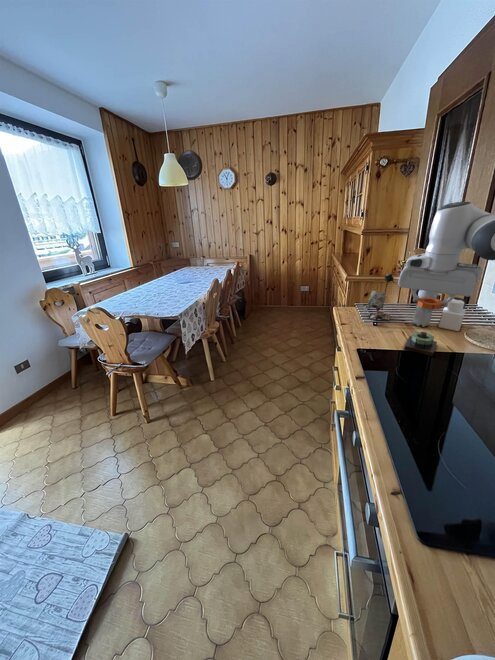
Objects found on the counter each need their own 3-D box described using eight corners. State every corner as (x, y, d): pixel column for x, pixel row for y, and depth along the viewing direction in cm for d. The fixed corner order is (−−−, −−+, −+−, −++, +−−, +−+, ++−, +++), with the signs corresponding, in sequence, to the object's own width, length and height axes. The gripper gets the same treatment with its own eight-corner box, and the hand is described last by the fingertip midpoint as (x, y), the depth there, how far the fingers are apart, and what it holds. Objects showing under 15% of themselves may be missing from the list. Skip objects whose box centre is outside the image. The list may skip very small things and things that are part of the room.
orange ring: (443, 303, 92) (444, 299, 91) (440, 311, 87) (441, 306, 86) (419, 300, 96) (420, 295, 95) (415, 307, 91) (416, 302, 90)
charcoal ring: (433, 342, 104) (434, 338, 103) (430, 350, 99) (431, 346, 98) (412, 337, 107) (413, 333, 107) (408, 345, 103) (409, 341, 102)
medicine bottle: (440, 321, 121) (448, 294, 116) (461, 324, 117) (469, 297, 111) (437, 327, 116) (445, 300, 111) (458, 331, 112) (467, 303, 107)
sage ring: (434, 338, 103) (435, 334, 102) (431, 346, 98) (432, 342, 97) (413, 333, 107) (414, 330, 106) (409, 341, 102) (410, 337, 101)
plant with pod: (366, 311, 134) (372, 270, 125) (392, 316, 128) (400, 273, 119) (362, 318, 128) (367, 275, 119) (388, 323, 122) (397, 278, 113)
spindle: (436, 345, 104) (440, 330, 102) (432, 356, 98) (436, 341, 95) (409, 339, 109) (412, 325, 107) (404, 349, 103) (407, 335, 100)
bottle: (425, 321, 122) (436, 276, 113) (432, 328, 116) (445, 281, 107) (408, 321, 123) (418, 276, 114) (415, 328, 117) (426, 281, 108)
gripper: (484, 262, 81) (469, 306, 87) (405, 256, 93) (397, 295, 99) (483, 267, 77) (468, 314, 83) (401, 260, 88) (393, 301, 95)
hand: (429, 304), depth 91 cm, fingers closed on orange ring, 7 cm apart
